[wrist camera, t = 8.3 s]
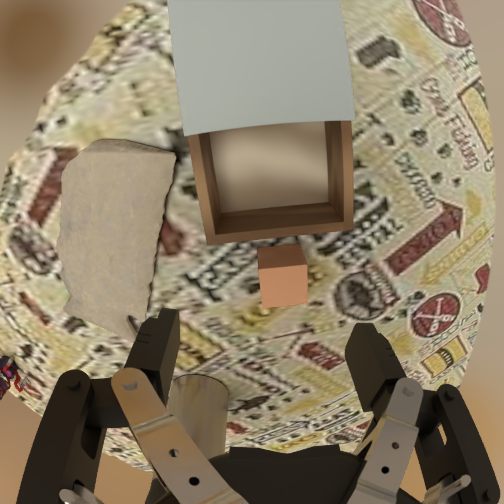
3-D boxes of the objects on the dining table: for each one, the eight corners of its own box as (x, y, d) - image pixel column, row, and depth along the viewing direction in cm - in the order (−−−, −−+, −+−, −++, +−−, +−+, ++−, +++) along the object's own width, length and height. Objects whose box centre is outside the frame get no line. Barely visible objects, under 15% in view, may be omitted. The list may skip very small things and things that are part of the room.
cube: (301, 279, 32) (307, 303, 28) (261, 283, 32) (262, 308, 28) (300, 243, 30) (307, 264, 26) (257, 247, 30) (258, 269, 26)
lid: (351, 120, 19) (377, 123, 14) (186, 135, 19) (168, 142, 15) (321, -55, 11) (335, -83, 7) (166, -42, 12) (148, -68, 8)
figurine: (37, 379, 45) (12, 430, 32) (16, 374, 46) (-9, 420, 32) (16, 351, 41) (-15, 403, 28) (-4, 348, 42) (-33, 394, 28)
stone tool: (146, 332, 37) (188, 152, 26) (138, 352, 34) (177, 160, 22) (68, 300, 35) (78, 123, 24) (55, 317, 32) (57, 128, 21)
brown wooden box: (334, 206, 28) (353, 229, 23) (215, 218, 29) (207, 245, 24) (322, 47, 21) (340, 32, 16) (191, 59, 22) (175, 46, 16)
